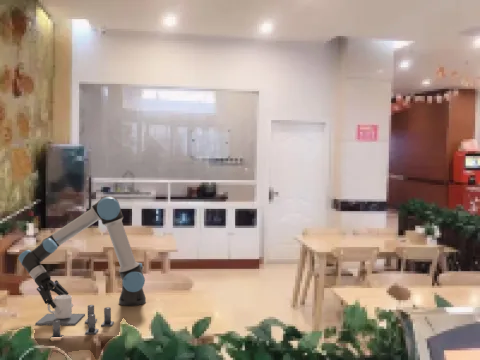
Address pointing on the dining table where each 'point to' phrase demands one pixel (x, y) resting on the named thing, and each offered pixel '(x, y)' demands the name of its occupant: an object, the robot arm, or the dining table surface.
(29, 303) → the dining table surface
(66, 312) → the cup
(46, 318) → the mat
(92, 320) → the posts
